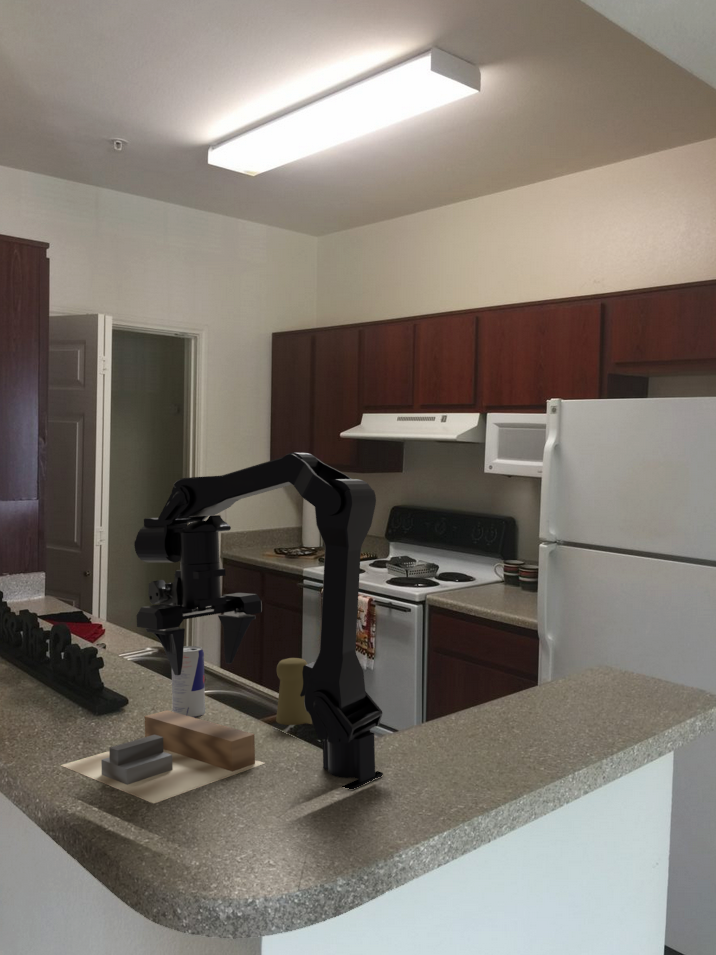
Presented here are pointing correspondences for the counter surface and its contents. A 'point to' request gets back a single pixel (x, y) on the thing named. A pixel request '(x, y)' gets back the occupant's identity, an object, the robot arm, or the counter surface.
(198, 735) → the walnut bar
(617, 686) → the counter surface
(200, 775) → the flat beige square board
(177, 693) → the energy drink
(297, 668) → the cork
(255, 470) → the robot arm
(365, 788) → the counter surface
